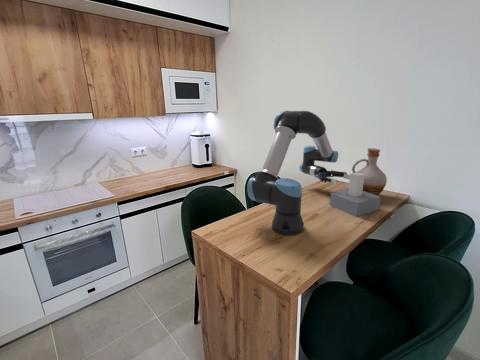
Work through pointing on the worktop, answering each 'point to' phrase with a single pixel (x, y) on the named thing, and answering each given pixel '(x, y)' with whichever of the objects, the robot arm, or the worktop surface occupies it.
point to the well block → (355, 202)
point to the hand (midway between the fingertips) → (344, 180)
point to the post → (356, 184)
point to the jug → (372, 173)
